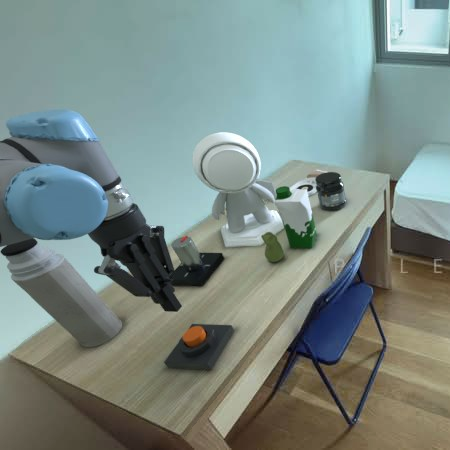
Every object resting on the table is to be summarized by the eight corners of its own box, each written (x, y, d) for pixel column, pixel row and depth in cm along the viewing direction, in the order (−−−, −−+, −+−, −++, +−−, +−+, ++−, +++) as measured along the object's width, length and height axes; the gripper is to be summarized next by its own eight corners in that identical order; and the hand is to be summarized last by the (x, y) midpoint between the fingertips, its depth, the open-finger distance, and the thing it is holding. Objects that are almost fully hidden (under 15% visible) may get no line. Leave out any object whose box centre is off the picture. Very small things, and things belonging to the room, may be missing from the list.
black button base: (211, 370, 67) (203, 359, 65) (168, 368, 68) (159, 357, 65) (234, 330, 75) (228, 320, 73) (195, 329, 76) (188, 318, 73)
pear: (287, 260, 96) (279, 234, 90) (270, 267, 93) (261, 242, 87) (281, 251, 99) (273, 226, 94) (265, 258, 97) (255, 233, 91)
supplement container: (330, 195, 128) (325, 169, 121) (351, 200, 124) (347, 173, 117) (314, 208, 120) (307, 180, 113) (336, 213, 116) (331, 185, 110)
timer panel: (202, 286, 88) (198, 280, 86) (169, 285, 88) (165, 279, 87) (224, 258, 97) (221, 252, 96) (194, 258, 98) (191, 251, 97)
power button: (199, 347, 67) (195, 341, 66) (182, 346, 68) (178, 341, 67) (210, 331, 71) (206, 326, 70) (193, 331, 71) (189, 325, 70)
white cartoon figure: (228, 256, 98) (178, 152, 78) (219, 223, 114) (176, 129, 94) (290, 235, 106) (260, 135, 86) (273, 206, 123) (244, 117, 102)
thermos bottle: (75, 340, 74) (-21, 251, 58) (111, 315, 80) (34, 229, 64) (92, 352, 71) (-3, 262, 55) (129, 326, 77) (52, 237, 61)
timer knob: (197, 271, 89) (183, 246, 84) (181, 271, 90) (166, 246, 84) (207, 259, 93) (194, 235, 88) (192, 259, 94) (178, 235, 88)
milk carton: (294, 234, 107) (279, 182, 95) (320, 233, 106) (308, 181, 95) (286, 250, 100) (269, 197, 88) (314, 249, 99) (300, 196, 88)
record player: (333, 173, 139) (304, 193, 124) (334, 179, 140) (305, 200, 126) (313, 168, 143) (282, 188, 129) (314, 175, 145) (284, 194, 131)
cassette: (254, 195, 131) (248, 179, 126) (257, 193, 132) (252, 177, 128) (276, 200, 127) (271, 183, 122) (279, 198, 128) (274, 181, 124)
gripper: (93, 235, 44) (169, 336, 58) (158, 192, 55) (209, 286, 68) (46, 234, 45) (131, 335, 58) (119, 192, 55) (177, 285, 69)
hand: (173, 308), depth 63 cm, fingers closed
